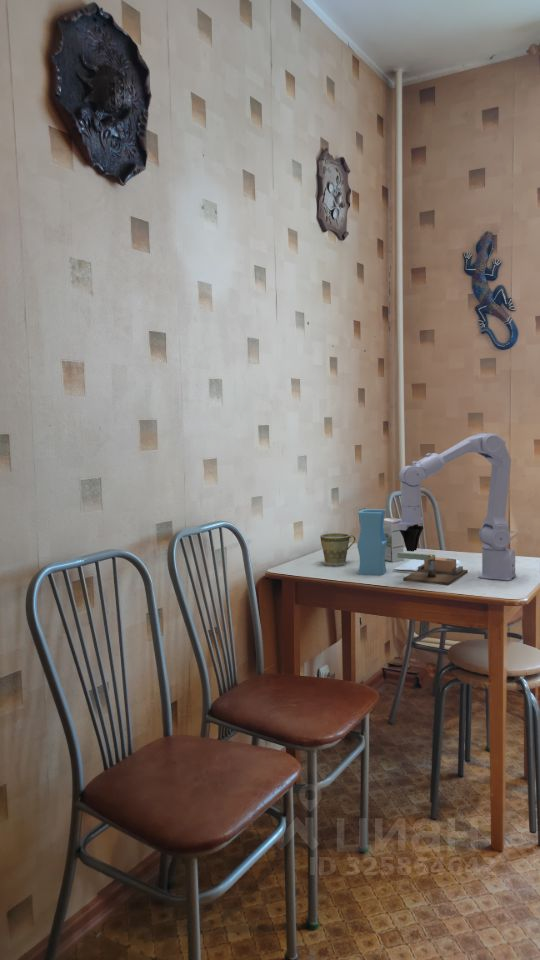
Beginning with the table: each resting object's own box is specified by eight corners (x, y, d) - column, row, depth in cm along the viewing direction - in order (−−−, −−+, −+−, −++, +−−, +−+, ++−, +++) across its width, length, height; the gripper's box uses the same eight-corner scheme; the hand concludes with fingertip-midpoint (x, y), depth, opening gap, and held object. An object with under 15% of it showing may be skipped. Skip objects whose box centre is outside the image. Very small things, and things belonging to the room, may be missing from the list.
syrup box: (404, 560, 247) (403, 518, 245) (391, 562, 243) (391, 520, 242) (392, 557, 251) (392, 517, 250) (380, 560, 248) (379, 518, 247)
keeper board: (467, 572, 225) (467, 555, 224) (448, 585, 209) (448, 566, 208) (425, 568, 232) (425, 551, 232) (403, 580, 216) (403, 562, 216)
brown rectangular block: (456, 571, 223) (456, 558, 223) (452, 574, 220) (452, 560, 219) (428, 568, 228) (428, 556, 227) (424, 571, 224) (424, 558, 224)
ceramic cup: (329, 568, 237) (329, 538, 236) (315, 563, 246) (315, 534, 245) (363, 564, 242) (362, 535, 241) (348, 559, 251) (347, 531, 250)
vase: (382, 575, 223) (381, 512, 222) (357, 574, 226) (356, 512, 224) (387, 570, 231) (386, 509, 229) (363, 569, 234) (362, 509, 232)
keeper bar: (436, 560, 217) (436, 554, 217) (433, 561, 215) (433, 556, 215) (399, 556, 223) (399, 551, 223) (396, 558, 221) (396, 553, 221)
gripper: (407, 502, 221) (408, 545, 222) (389, 508, 209) (389, 553, 210) (429, 503, 217) (429, 547, 219) (412, 509, 205) (412, 555, 206)
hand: (411, 550), depth 214 cm, fingers closed
